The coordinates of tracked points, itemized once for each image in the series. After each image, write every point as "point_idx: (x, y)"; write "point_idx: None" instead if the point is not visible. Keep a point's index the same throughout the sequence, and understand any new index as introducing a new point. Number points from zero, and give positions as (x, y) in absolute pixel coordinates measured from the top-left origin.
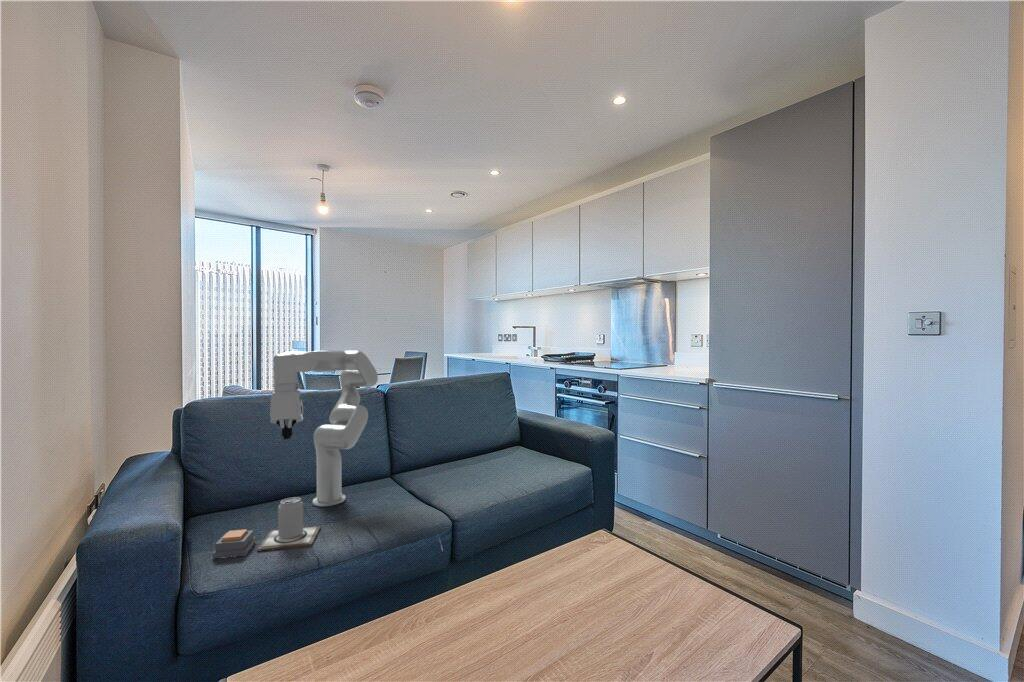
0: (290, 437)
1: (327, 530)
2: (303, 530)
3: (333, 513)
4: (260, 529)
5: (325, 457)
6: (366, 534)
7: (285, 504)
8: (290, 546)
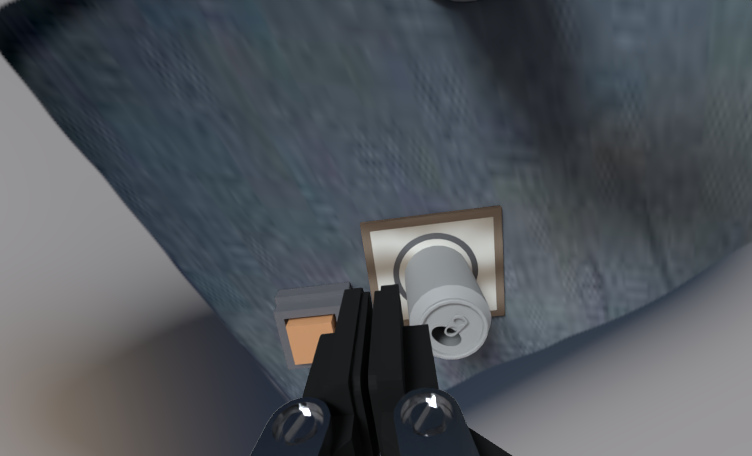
0: (399, 295)
1: (523, 221)
2: (459, 240)
3: (515, 78)
4: (316, 196)
5: None
6: (642, 257)
7: (445, 358)
8: None
